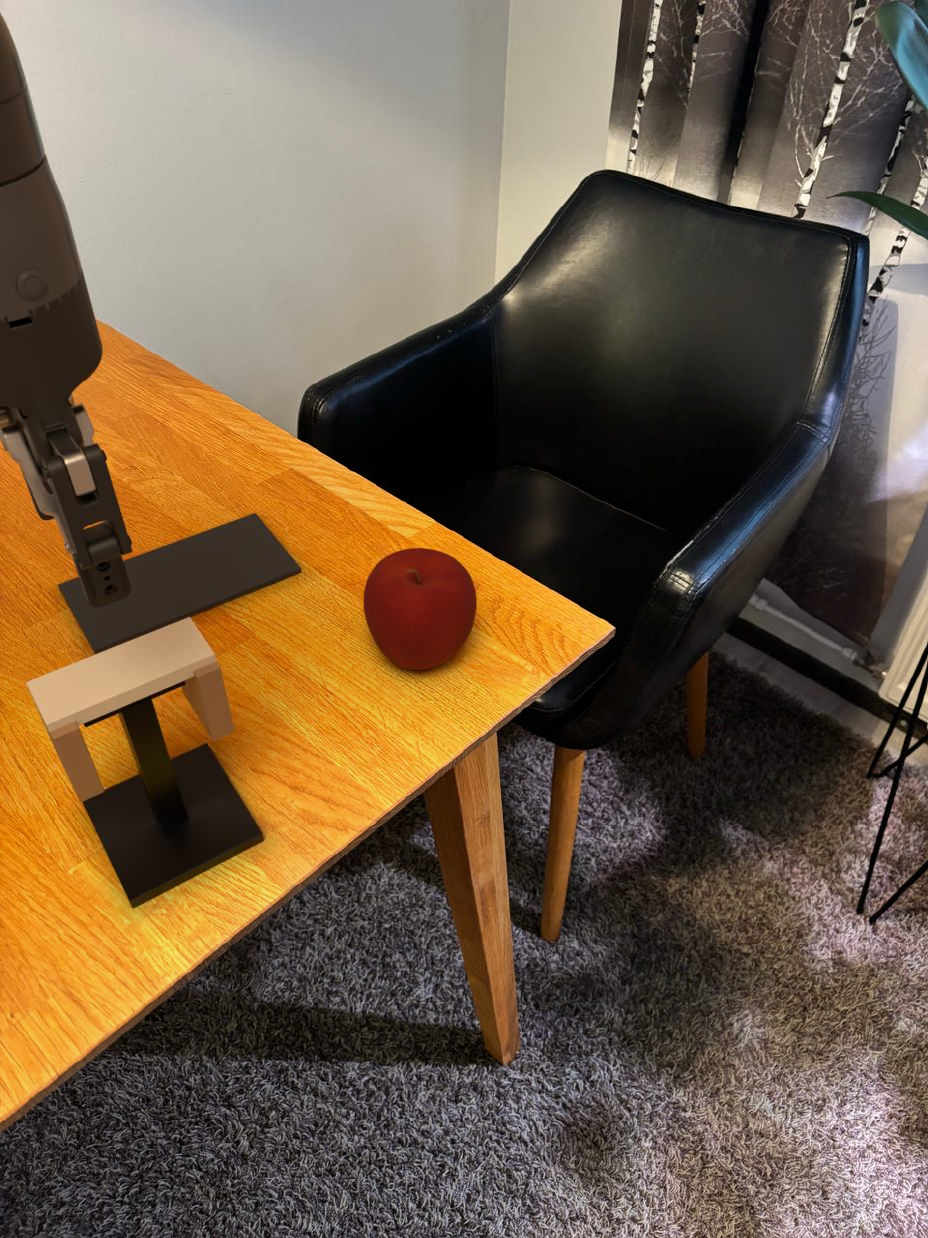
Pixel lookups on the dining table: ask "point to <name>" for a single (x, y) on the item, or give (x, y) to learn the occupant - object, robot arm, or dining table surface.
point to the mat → (184, 581)
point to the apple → (419, 607)
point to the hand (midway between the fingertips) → (83, 554)
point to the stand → (167, 810)
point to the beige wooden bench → (128, 692)
